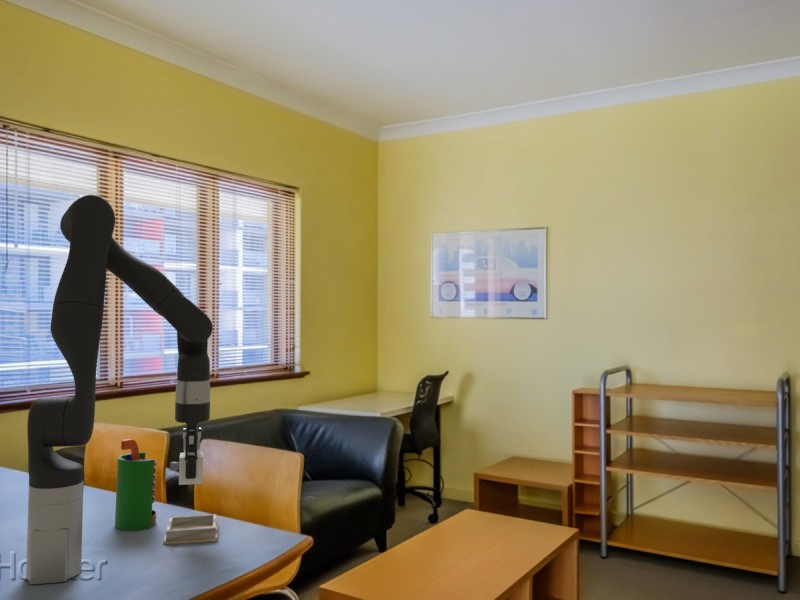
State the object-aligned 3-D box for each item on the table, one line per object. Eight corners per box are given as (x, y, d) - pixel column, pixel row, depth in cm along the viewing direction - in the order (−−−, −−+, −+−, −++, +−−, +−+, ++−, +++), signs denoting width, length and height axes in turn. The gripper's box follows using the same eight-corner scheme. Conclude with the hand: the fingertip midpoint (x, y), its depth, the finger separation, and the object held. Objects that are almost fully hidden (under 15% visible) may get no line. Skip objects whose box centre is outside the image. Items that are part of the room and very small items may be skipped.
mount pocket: (217, 540, 143) (217, 528, 143) (163, 544, 140) (163, 532, 140) (218, 524, 154) (218, 513, 154) (167, 527, 151) (167, 516, 151)
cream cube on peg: (202, 483, 146) (203, 456, 146) (169, 485, 144) (170, 458, 144) (202, 477, 151) (203, 451, 151) (170, 479, 149) (171, 453, 149)
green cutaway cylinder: (164, 524, 153) (166, 439, 154) (126, 533, 147) (129, 444, 147) (144, 515, 160) (146, 433, 161) (107, 523, 154) (109, 437, 154)
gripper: (210, 404, 142) (208, 482, 142) (209, 395, 156) (208, 466, 156) (173, 405, 140) (171, 484, 140) (176, 395, 154) (174, 468, 154)
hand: (191, 474), depth 148 cm, fingers closed on cream cube on peg, 5 cm apart
